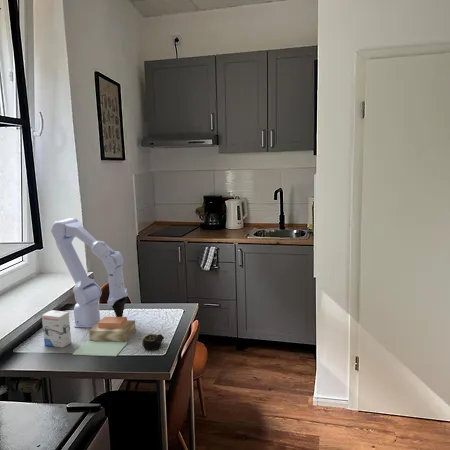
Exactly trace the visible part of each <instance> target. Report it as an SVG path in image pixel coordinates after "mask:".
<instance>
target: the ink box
mask: <svg viewBox="0 0 450 450" xmlns="http://www.w3.org/2000/svg"><path fill="white" fill-rule="evenodd" d="M41 322H42V323H41V325H42V331H43V343H44V345H45V346H50V347H56V348H64V347H67V346H68V345H70V344H71V343H72V337H71V336H72V333H71V323H70V315H69V312H68V311H61V310H53V309H52V310H48V311H47V312H45V313H43V314H41Z"/></svg>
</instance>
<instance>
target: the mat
mask: <svg viewBox="0 0 450 450" xmlns="http://www.w3.org/2000/svg"><path fill="white" fill-rule="evenodd" d="M127 344H128V342H127V341H126V342H117V341H90V340H86V341H84V342H83V343H82V345H80V346H79V347H78V349H76V350H75V351H74V352H73V353H72V356H93V357H94V356H95V357H96V356H97V357H98V356H99V357H117V356H118V355H119V353H121V351H122V350H123V349H124V348H125V347H126V345H127Z"/></svg>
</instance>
